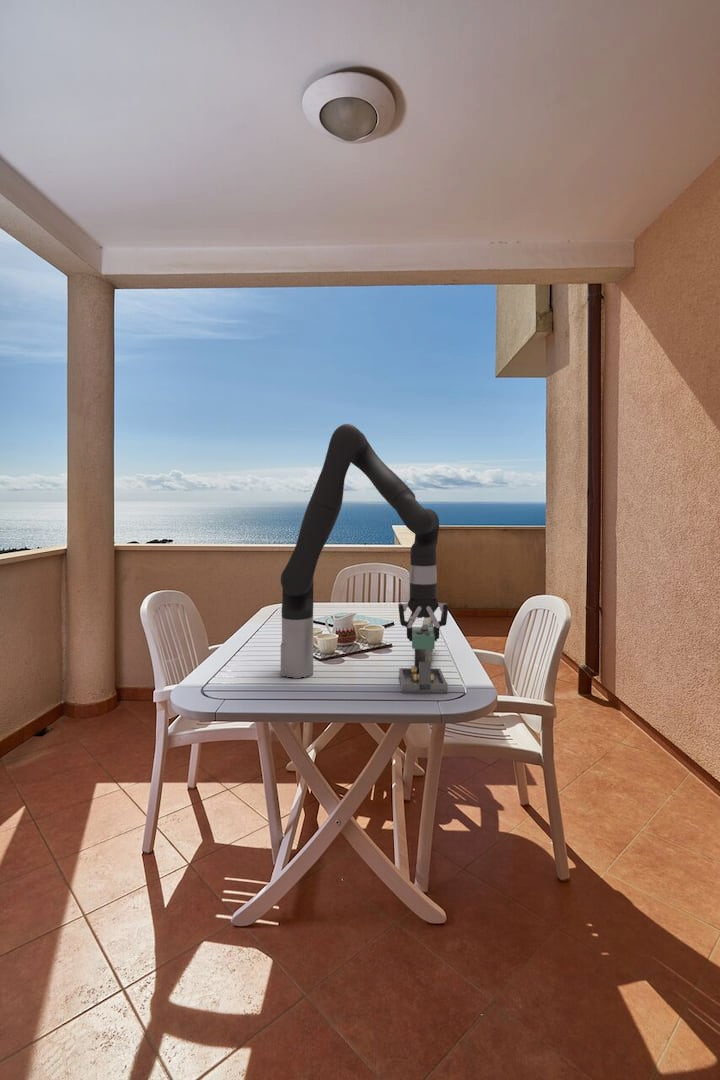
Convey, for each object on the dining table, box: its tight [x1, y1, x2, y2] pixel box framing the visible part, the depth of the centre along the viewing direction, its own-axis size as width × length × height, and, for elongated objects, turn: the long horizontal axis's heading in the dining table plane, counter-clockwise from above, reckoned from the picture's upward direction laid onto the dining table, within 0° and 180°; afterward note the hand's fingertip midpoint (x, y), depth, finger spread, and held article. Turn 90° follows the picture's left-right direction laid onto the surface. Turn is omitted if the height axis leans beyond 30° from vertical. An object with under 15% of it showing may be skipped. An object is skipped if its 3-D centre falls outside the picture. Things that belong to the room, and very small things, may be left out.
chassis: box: [398, 649, 448, 695], centre depth 140 cm, size 12×13×8 cm
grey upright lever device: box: [421, 617, 435, 663], centre depth 166 cm, size 14×6×25 cm
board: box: [411, 626, 436, 650], centre depth 140 cm, size 6×10×4 cm, turn 175°
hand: (422, 640), depth 140 cm, fingers closed on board, 6 cm apart
